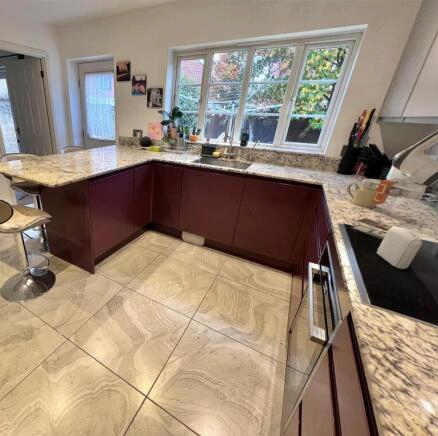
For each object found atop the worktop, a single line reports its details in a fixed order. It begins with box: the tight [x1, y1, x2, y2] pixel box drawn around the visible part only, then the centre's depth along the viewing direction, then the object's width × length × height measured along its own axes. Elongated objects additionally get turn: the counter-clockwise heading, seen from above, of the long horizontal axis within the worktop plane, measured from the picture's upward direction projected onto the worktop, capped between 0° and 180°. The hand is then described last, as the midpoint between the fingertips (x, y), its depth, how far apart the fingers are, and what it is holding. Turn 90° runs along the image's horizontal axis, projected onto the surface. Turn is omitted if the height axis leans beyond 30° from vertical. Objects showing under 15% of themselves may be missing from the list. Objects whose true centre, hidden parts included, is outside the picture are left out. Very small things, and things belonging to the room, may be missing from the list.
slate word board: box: [350, 224, 387, 241], centre depth 99 cm, size 18×8×2 cm, turn 26°
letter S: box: [371, 179, 395, 205], centre depth 102 cm, size 3×5×10 cm, turn 116°
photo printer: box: [376, 226, 423, 270], centre depth 80 cm, size 10×4×12 cm, turn 169°
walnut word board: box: [356, 217, 393, 232], centre depth 106 cm, size 18×8×2 cm, turn 26°
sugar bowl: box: [347, 182, 378, 209], centre depth 134 cm, size 15×11×15 cm
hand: (382, 190), depth 101 cm, fingers closed on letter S, 3 cm apart
